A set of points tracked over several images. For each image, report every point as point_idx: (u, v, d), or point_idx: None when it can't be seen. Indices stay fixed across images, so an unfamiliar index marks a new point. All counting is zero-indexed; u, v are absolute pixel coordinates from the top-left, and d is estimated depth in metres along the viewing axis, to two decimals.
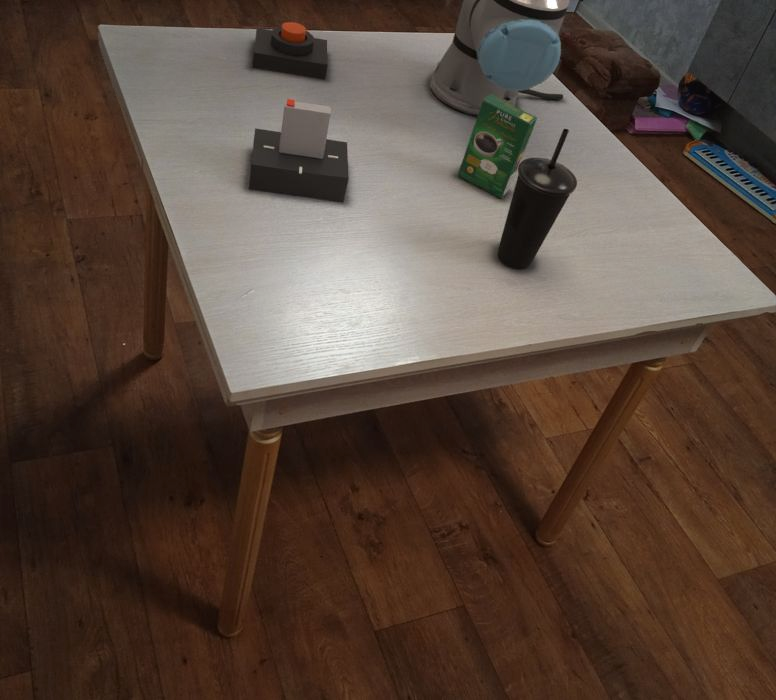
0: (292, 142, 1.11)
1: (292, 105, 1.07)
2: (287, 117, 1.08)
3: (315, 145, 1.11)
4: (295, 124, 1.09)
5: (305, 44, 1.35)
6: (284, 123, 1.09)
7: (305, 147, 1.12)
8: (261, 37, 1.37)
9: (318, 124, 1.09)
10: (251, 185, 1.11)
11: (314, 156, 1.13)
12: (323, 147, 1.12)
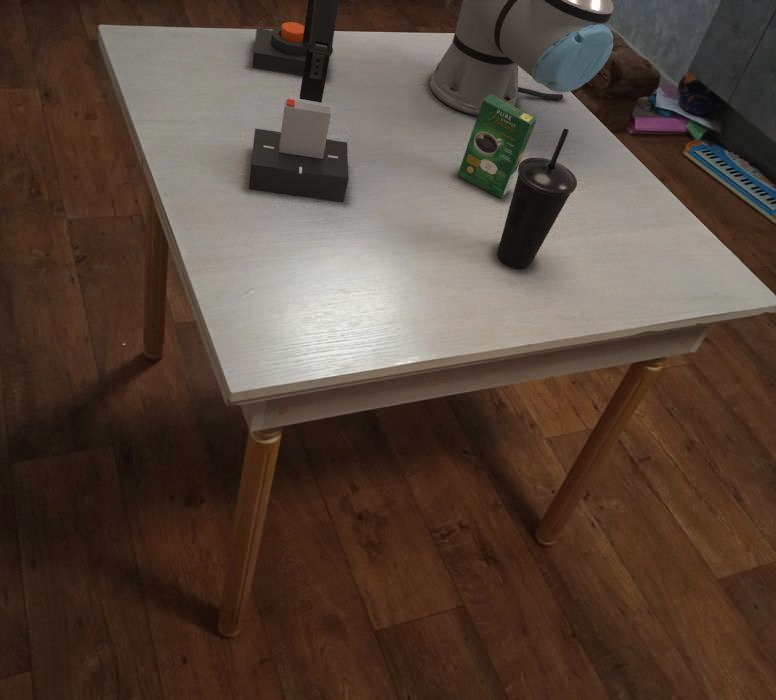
0: (292, 142, 1.11)
1: (292, 105, 1.07)
2: (287, 117, 1.08)
3: (315, 145, 1.11)
4: (295, 124, 1.09)
5: None
6: (284, 123, 1.09)
7: (305, 147, 1.12)
8: (261, 37, 1.37)
9: (318, 124, 1.09)
10: (251, 185, 1.11)
11: (314, 156, 1.13)
12: (323, 147, 1.12)
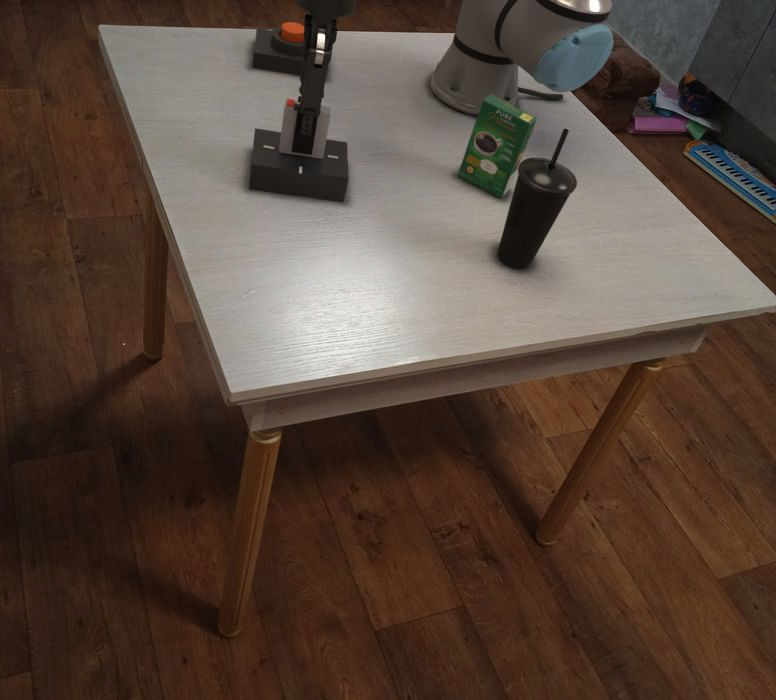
0: (292, 142, 1.11)
1: (292, 105, 1.07)
2: (287, 117, 1.08)
3: (315, 145, 1.11)
4: None
5: None
6: (284, 123, 1.09)
7: None
8: (261, 37, 1.37)
9: (318, 124, 1.09)
10: (251, 185, 1.11)
11: (314, 156, 1.13)
12: (323, 147, 1.12)
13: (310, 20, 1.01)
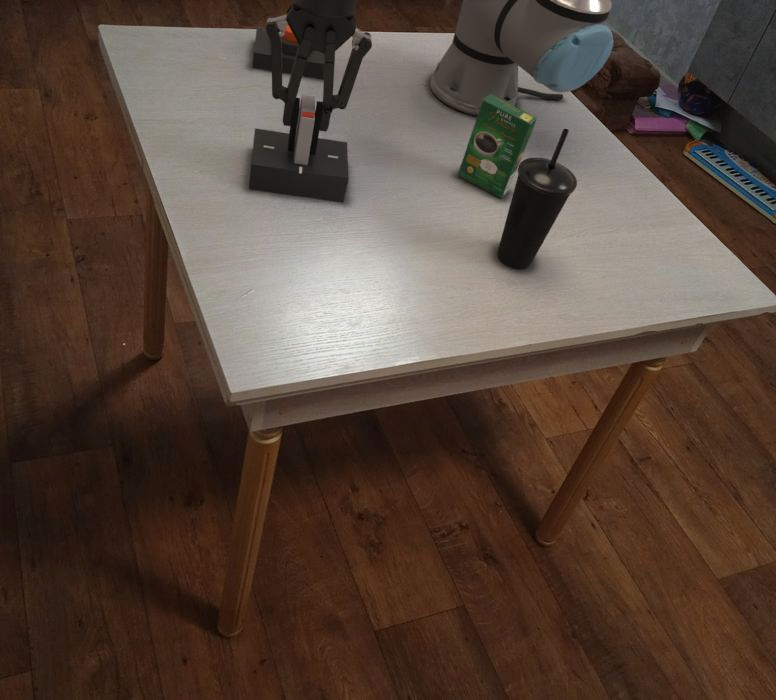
0: None
1: (313, 114, 1.07)
2: (313, 127, 1.08)
3: None
4: None
5: None
6: None
7: None
8: (261, 37, 1.37)
9: None
10: (251, 185, 1.11)
11: None
12: None
13: (315, 29, 1.00)
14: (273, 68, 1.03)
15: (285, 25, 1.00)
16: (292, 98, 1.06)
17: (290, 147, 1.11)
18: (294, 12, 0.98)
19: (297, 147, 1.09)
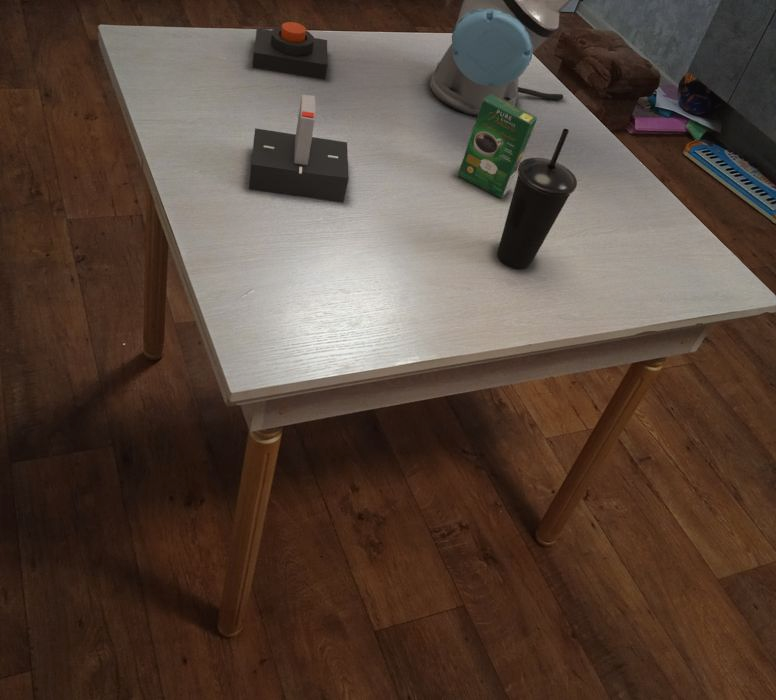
0: None
1: (313, 114, 1.07)
2: (313, 127, 1.08)
3: None
4: None
5: (305, 44, 1.35)
6: None
7: None
8: (261, 37, 1.37)
9: None
10: (251, 185, 1.11)
11: None
12: None
13: None
14: None
15: None
16: None
17: None
18: None
19: (297, 147, 1.09)
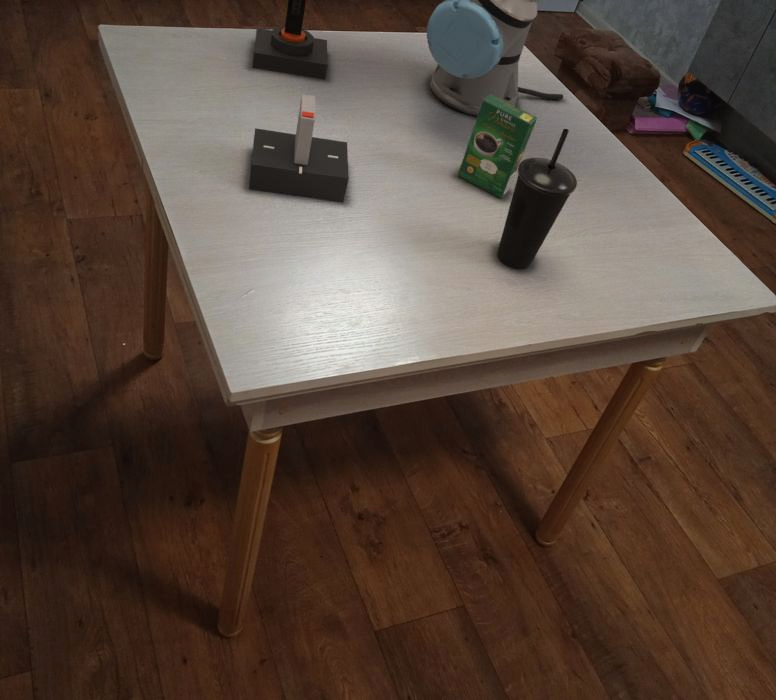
0: None
1: (313, 114, 1.07)
2: (313, 127, 1.08)
3: None
4: None
5: (305, 44, 1.35)
6: None
7: None
8: (261, 37, 1.37)
9: None
10: (251, 185, 1.11)
11: None
12: None
13: None
14: None
15: None
16: None
17: None
18: None
19: (297, 147, 1.09)
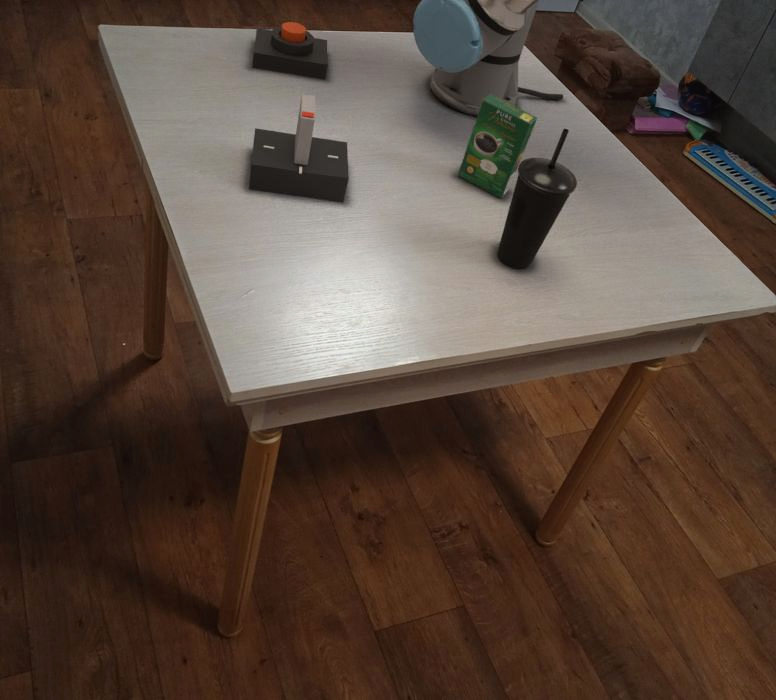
0: None
1: (313, 114, 1.07)
2: (313, 127, 1.08)
3: None
4: None
5: (305, 44, 1.35)
6: None
7: None
8: (261, 37, 1.37)
9: None
10: (251, 185, 1.11)
11: None
12: None
13: None
14: None
15: None
16: None
17: None
18: None
19: (297, 147, 1.09)
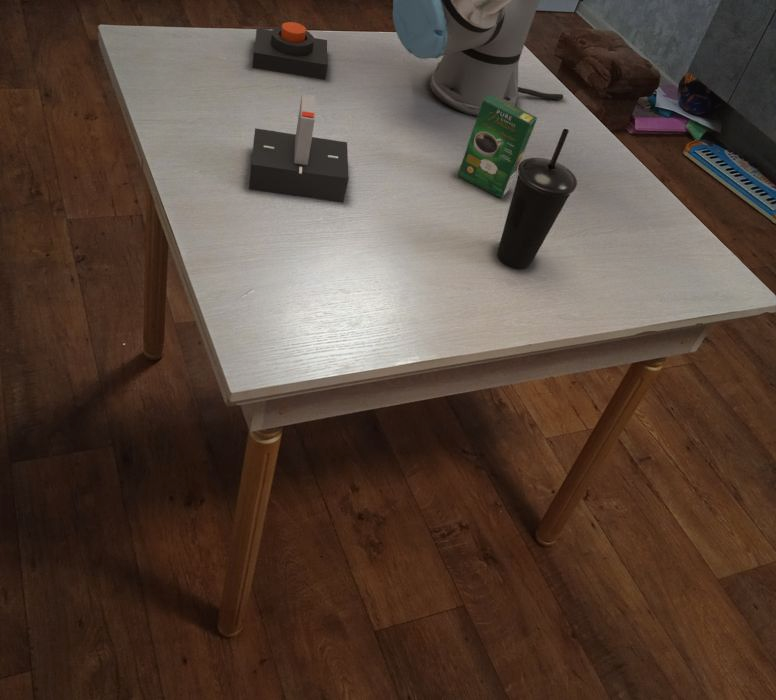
0: None
1: (313, 114, 1.07)
2: (313, 127, 1.08)
3: None
4: None
5: (305, 44, 1.35)
6: None
7: None
8: (261, 37, 1.37)
9: None
10: (251, 185, 1.11)
11: None
12: None
13: None
14: None
15: None
16: None
17: None
18: None
19: (297, 147, 1.09)
